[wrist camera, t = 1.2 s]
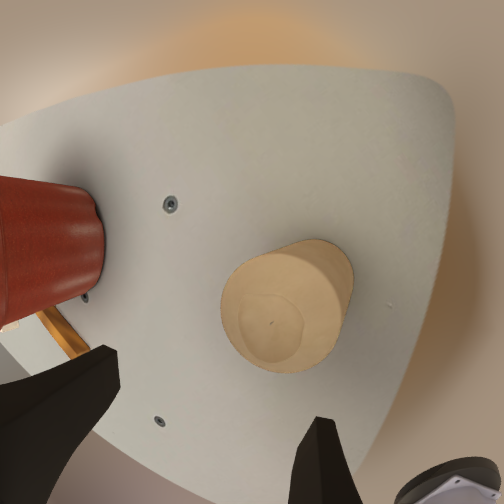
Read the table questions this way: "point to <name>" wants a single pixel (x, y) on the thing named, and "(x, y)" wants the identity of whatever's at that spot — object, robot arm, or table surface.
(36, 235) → the flower pot
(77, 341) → the fry stick
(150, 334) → the table surface
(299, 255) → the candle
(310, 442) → the robot arm
